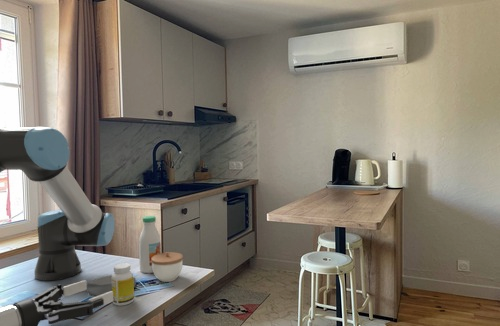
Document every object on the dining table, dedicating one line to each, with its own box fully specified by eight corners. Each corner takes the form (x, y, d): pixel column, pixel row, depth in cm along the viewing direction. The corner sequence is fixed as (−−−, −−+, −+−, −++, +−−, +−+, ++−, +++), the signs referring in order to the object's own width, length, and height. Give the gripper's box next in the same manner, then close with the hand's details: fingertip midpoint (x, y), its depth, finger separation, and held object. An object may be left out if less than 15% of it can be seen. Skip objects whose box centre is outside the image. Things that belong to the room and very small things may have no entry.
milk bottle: (141, 274, 134) (139, 220, 133) (138, 268, 141) (137, 216, 140) (163, 271, 137) (161, 217, 136) (159, 265, 144) (157, 214, 143)
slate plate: (78, 289, 122) (77, 284, 122) (118, 275, 134) (118, 271, 134) (103, 301, 113) (103, 296, 113) (144, 285, 125) (144, 280, 125)
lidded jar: (176, 285, 124) (175, 257, 124) (146, 283, 126) (145, 256, 126) (187, 274, 135) (187, 248, 134) (160, 272, 137) (159, 247, 136)
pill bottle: (138, 298, 115) (136, 262, 114) (127, 307, 109) (125, 269, 108) (120, 296, 116) (118, 261, 115) (108, 305, 110) (106, 268, 109)
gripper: (-4, 320, 96) (76, 292, 113) (39, 352, 81) (125, 315, 98) (-6, 291, 96) (75, 268, 112) (38, 319, 81) (124, 287, 97)
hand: (98, 290), depth 105 cm, fingers open, 13 cm apart
